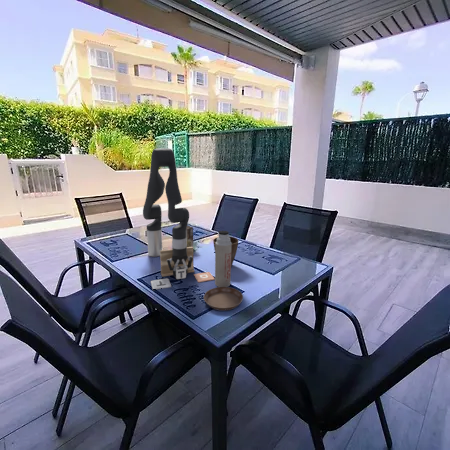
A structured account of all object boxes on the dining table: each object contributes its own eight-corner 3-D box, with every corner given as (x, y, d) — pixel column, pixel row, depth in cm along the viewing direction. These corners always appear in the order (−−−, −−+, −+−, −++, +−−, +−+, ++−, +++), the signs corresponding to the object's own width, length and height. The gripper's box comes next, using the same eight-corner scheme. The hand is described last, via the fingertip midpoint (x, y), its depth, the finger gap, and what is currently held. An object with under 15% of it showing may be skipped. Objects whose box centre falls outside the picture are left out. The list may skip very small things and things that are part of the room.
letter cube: (174, 275, 141) (174, 266, 140) (183, 273, 143) (183, 265, 141) (176, 279, 136) (176, 270, 135) (186, 277, 138) (185, 269, 137)
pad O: (193, 275, 143) (193, 274, 143) (209, 272, 146) (209, 271, 146) (198, 282, 135) (198, 281, 135) (214, 279, 138) (214, 278, 138)
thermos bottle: (233, 284, 133) (235, 232, 126) (220, 288, 129) (221, 235, 121) (224, 278, 139) (225, 228, 132) (212, 282, 135) (212, 231, 128)
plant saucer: (218, 318, 106) (218, 312, 105) (196, 299, 119) (196, 293, 119) (250, 304, 116) (251, 298, 115) (227, 288, 130) (227, 283, 129)
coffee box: (186, 247, 186) (186, 225, 182) (193, 248, 183) (193, 226, 179) (177, 250, 179) (177, 228, 175) (184, 252, 176) (184, 229, 171)
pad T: (150, 281, 134) (150, 280, 134) (168, 279, 138) (168, 278, 137) (152, 290, 126) (152, 288, 126) (171, 286, 130) (171, 285, 129)
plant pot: (229, 272, 147) (230, 246, 142) (208, 266, 154) (208, 241, 150) (242, 263, 159) (243, 239, 155) (221, 258, 166) (221, 234, 162)
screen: (160, 272, 145) (159, 249, 141) (192, 268, 151) (191, 245, 148) (162, 276, 140) (160, 252, 137) (194, 271, 147) (194, 248, 143)
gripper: (191, 242, 141) (191, 271, 145) (164, 245, 136) (165, 274, 140) (194, 246, 134) (195, 276, 139) (166, 249, 129) (168, 280, 134)
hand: (180, 275), depth 139 cm, fingers closed on letter cube, 5 cm apart
